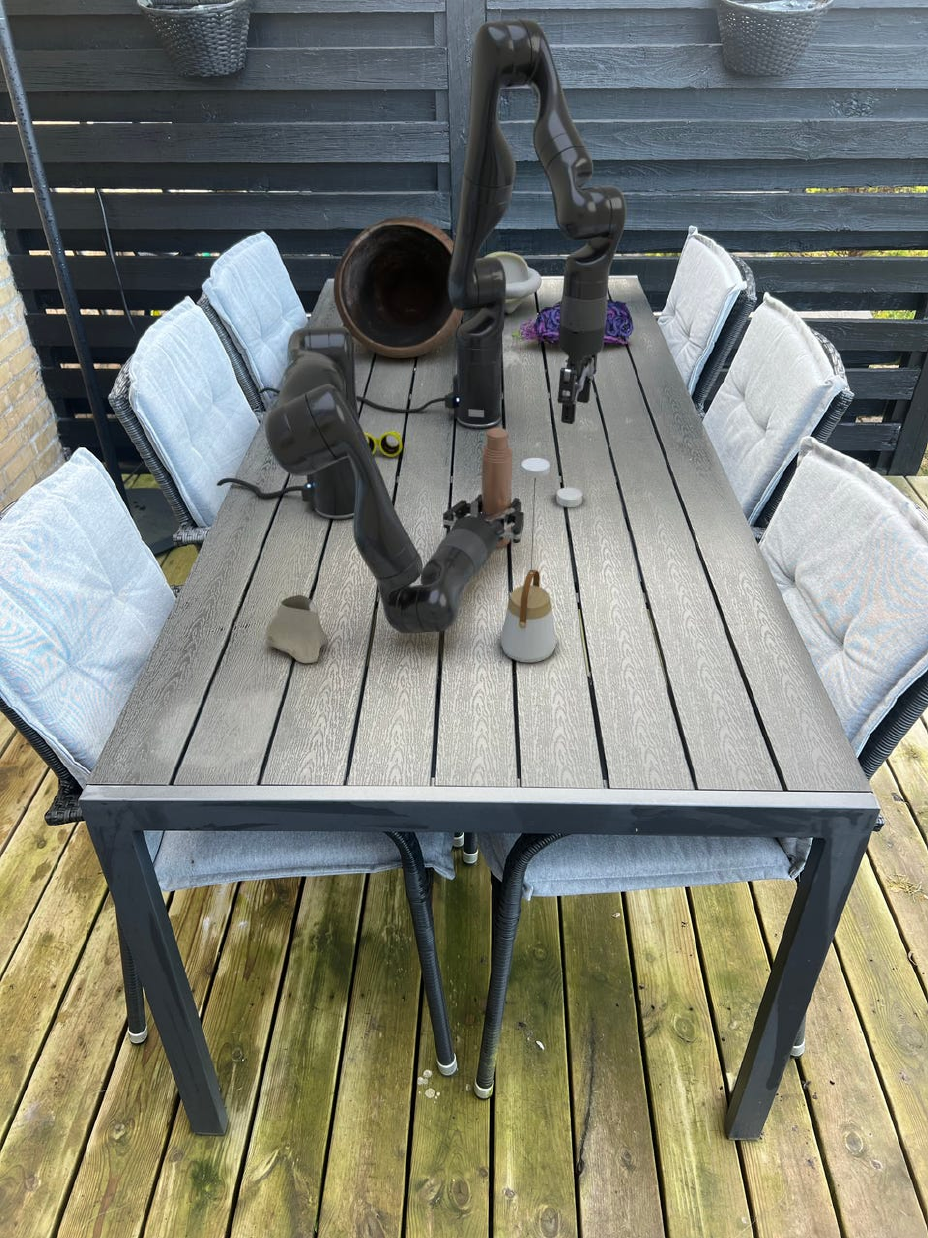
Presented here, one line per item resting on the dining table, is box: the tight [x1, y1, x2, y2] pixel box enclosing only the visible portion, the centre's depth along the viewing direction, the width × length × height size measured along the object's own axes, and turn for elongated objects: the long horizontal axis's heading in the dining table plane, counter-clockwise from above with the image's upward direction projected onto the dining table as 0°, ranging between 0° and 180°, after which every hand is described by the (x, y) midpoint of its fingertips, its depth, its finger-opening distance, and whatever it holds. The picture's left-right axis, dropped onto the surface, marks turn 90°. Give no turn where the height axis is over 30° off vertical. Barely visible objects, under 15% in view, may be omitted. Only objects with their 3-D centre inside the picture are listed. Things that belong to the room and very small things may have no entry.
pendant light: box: [499, 457, 557, 663], centre depth 128 cm, size 8×8×30 cm
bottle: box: [481, 427, 513, 548], centre depth 155 cm, size 5×5×20 cm
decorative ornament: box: [510, 298, 634, 347], centre depth 229 cm, size 13×11×30 cm
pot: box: [333, 215, 465, 359], centre depth 229 cm, size 32×32×30 cm
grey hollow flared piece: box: [265, 594, 328, 664], centre depth 135 cm, size 9×8×10 cm
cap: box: [555, 487, 583, 508], centre depth 171 cm, size 5×5×2 cm
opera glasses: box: [363, 430, 403, 458], centre depth 185 cm, size 10×5×5 cm, turn 95°
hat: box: [483, 251, 543, 314], centre depth 248 cm, size 25×22×15 cm
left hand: (501, 499), depth 159 cm, fingers closed on bottle, 5 cm apart
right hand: (575, 411), depth 161 cm, fingers open, 8 cm apart
